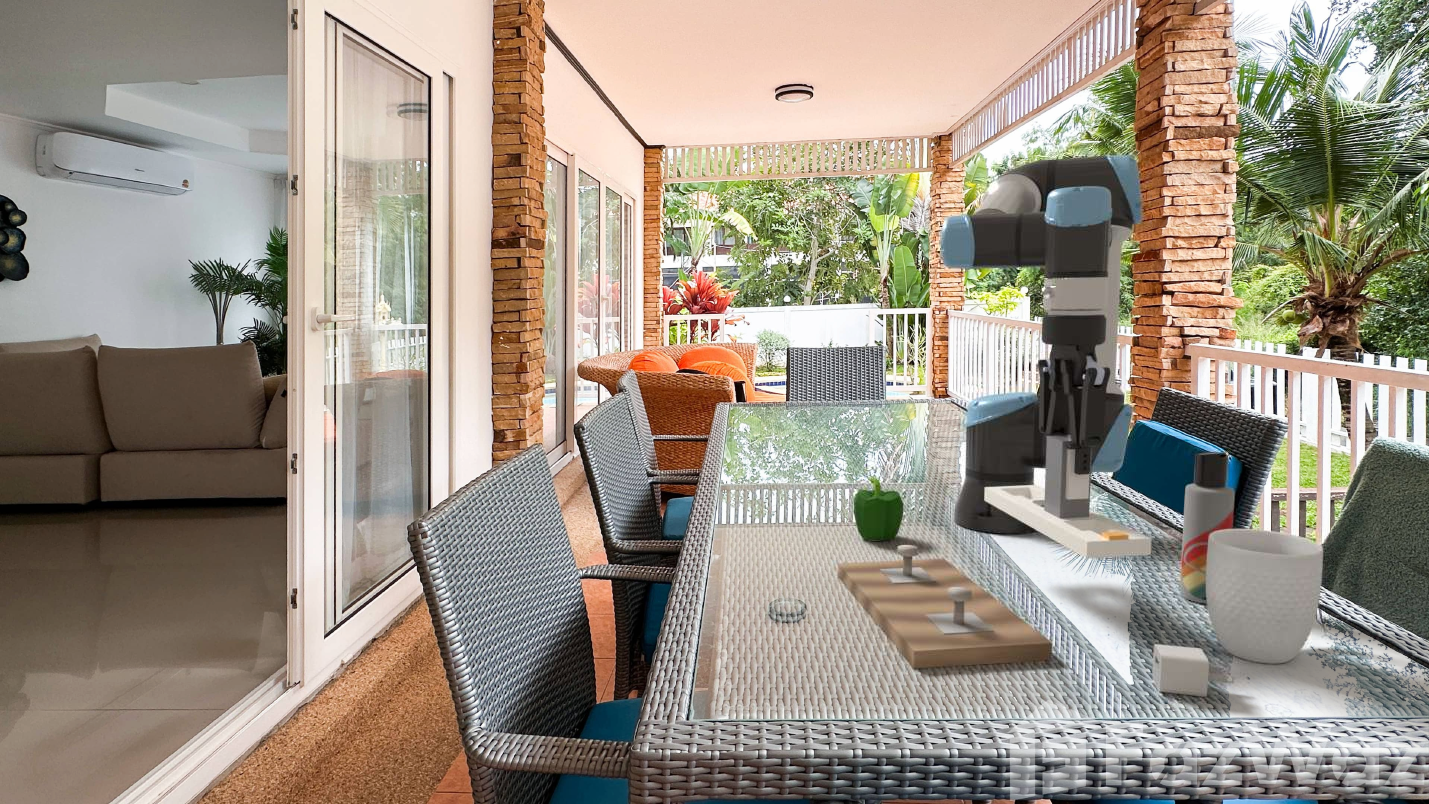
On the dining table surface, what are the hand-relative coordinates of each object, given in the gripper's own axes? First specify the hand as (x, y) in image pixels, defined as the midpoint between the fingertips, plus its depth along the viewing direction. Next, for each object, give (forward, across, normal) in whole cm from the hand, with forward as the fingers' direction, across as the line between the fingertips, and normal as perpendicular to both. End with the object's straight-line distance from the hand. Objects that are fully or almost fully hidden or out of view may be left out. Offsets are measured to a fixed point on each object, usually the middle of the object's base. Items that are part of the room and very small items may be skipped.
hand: (1067, 493), depth 113 cm
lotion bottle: (+15, 0, +20) cm, 25 cm away
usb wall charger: (+15, +25, 0) cm, 29 cm away
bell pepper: (+16, -34, -14) cm, 40 cm away
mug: (+15, +18, +15) cm, 27 cm away
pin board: (+15, 0, -18) cm, 24 cm away
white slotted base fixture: (+5, -2, 0) cm, 5 cm away
